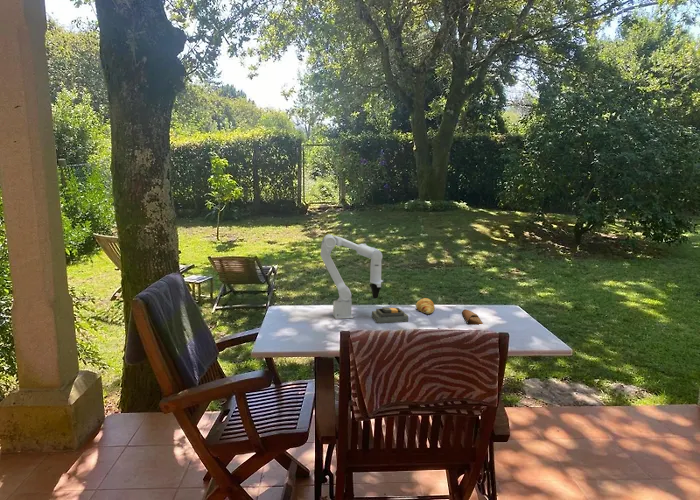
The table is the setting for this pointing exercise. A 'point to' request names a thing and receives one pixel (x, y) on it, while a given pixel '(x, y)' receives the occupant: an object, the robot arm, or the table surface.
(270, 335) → the table surface
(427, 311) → the croissant
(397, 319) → the breaker box
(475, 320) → the brown pointed cylinder
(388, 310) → the breaker switch
